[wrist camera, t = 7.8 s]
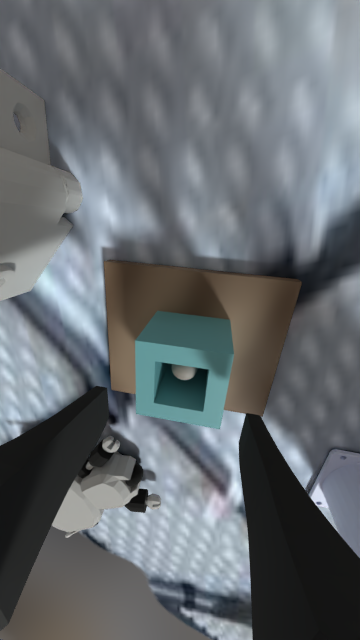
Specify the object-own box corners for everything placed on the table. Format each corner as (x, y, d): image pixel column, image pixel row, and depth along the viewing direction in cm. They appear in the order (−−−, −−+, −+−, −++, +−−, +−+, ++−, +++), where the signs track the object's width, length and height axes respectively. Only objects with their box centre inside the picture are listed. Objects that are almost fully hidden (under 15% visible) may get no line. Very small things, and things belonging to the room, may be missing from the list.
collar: (230, 319, 17) (234, 354, 12) (219, 380, 19) (219, 429, 14) (157, 310, 17) (135, 340, 13) (155, 370, 20) (136, 413, 15)
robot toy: (121, 411, 25) (24, 445, 28) (105, 447, 21) (-7, 481, 24) (170, 482, 28) (78, 504, 32) (165, 525, 24) (59, 545, 28)
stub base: (297, 279, 16) (328, 299, 11) (260, 408, 20) (271, 458, 16) (110, 259, 17) (72, 270, 13) (116, 382, 22) (89, 422, 18)
